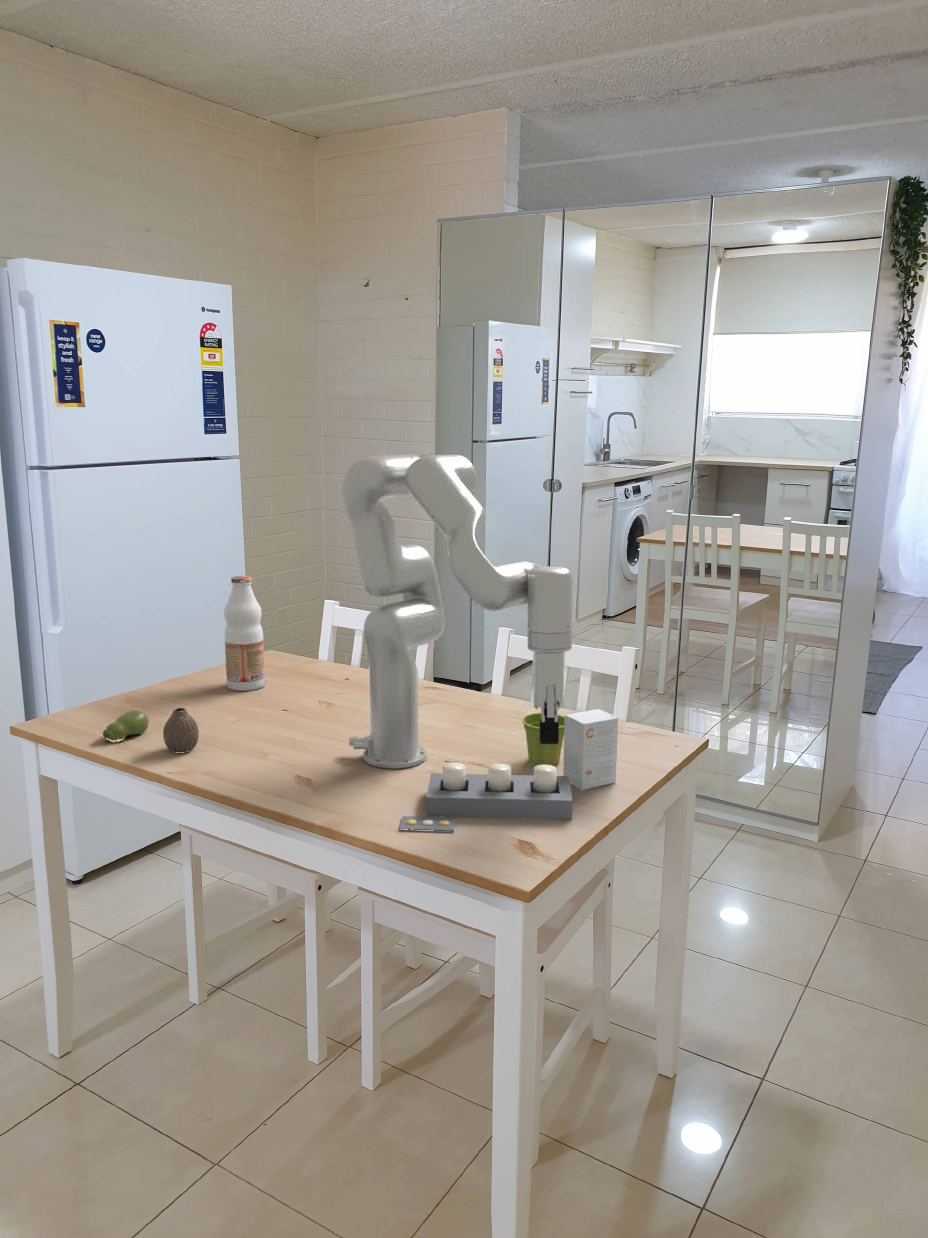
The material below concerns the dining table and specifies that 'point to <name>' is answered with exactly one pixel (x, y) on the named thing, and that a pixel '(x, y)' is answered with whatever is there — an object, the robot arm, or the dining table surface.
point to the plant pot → (536, 750)
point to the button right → (545, 778)
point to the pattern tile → (428, 823)
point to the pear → (127, 725)
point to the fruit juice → (243, 638)
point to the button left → (454, 776)
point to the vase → (180, 731)
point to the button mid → (499, 777)
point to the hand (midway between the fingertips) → (549, 742)
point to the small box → (590, 748)
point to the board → (499, 799)
